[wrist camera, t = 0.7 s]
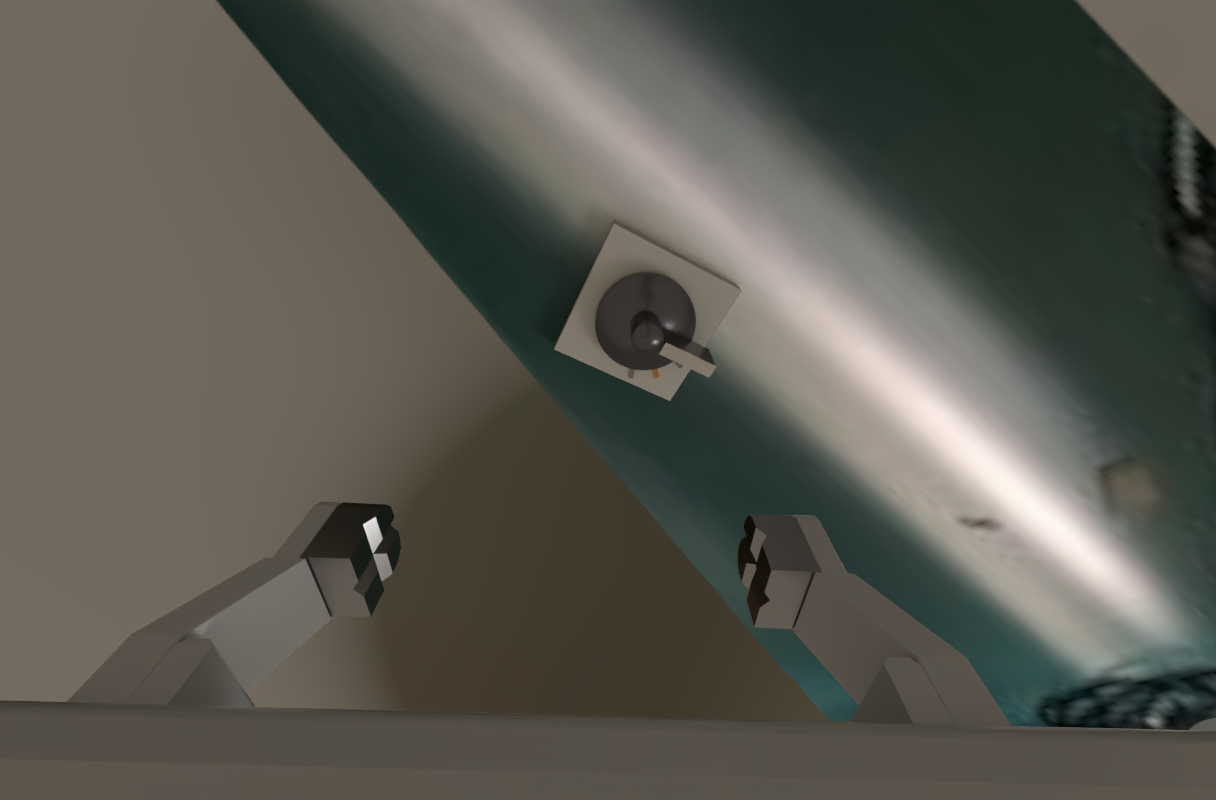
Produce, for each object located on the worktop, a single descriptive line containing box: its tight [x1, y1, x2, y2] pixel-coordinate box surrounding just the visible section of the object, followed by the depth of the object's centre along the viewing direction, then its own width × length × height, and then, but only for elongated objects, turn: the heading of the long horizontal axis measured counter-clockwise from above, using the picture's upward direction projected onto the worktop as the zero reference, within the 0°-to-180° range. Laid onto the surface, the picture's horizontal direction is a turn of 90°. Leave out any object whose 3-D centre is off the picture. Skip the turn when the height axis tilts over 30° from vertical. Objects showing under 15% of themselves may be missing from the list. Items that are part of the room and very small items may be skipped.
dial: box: [595, 272, 717, 377], centre depth 45 cm, size 12×10×5 cm
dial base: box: [554, 221, 742, 401], centre depth 48 cm, size 14×14×2 cm
